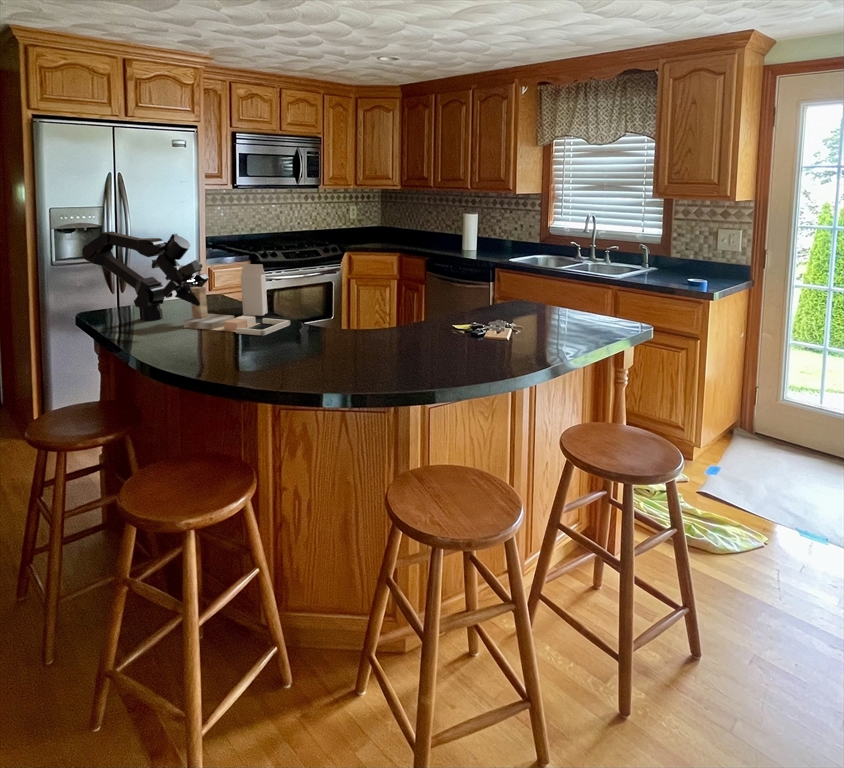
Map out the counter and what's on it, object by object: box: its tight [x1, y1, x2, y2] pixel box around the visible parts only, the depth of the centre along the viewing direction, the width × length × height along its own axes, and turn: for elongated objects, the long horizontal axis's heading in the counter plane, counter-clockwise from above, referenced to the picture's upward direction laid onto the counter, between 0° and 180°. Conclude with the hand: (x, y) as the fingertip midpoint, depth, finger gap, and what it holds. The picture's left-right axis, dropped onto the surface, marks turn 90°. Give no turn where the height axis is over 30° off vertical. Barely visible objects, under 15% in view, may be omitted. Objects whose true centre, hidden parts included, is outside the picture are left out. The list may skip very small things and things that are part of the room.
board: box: [186, 322, 261, 333], centre depth 250 cm, size 21×14×2 cm, turn 70°
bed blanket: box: [183, 286, 235, 330], centre depth 250 cm, size 11×13×12 cm
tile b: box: [224, 319, 246, 331], centre depth 245 cm, size 5×5×2 cm
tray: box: [235, 317, 291, 336], centre depth 245 cm, size 10×17×3 cm, turn 160°
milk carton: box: [240, 263, 268, 317], centre depth 267 cm, size 7×7×19 cm
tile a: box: [234, 315, 257, 327], centre depth 250 cm, size 5×5×2 cm
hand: (202, 304), depth 250 cm, fingers closed on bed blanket, 3 cm apart
